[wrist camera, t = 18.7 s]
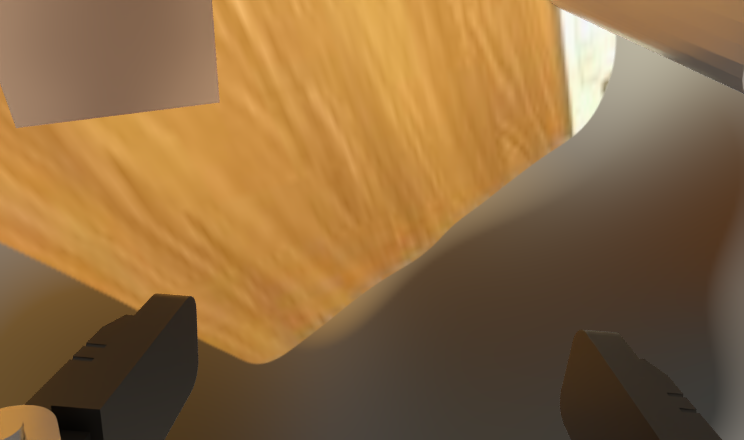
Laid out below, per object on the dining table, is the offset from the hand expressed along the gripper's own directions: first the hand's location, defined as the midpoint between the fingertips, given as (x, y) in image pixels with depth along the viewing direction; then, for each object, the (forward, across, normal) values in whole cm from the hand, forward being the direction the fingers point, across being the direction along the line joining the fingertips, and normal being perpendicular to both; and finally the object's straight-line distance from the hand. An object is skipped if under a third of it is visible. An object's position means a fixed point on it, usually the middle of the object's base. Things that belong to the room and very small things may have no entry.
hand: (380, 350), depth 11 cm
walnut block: (+4, +7, -6) cm, 10 cm away
